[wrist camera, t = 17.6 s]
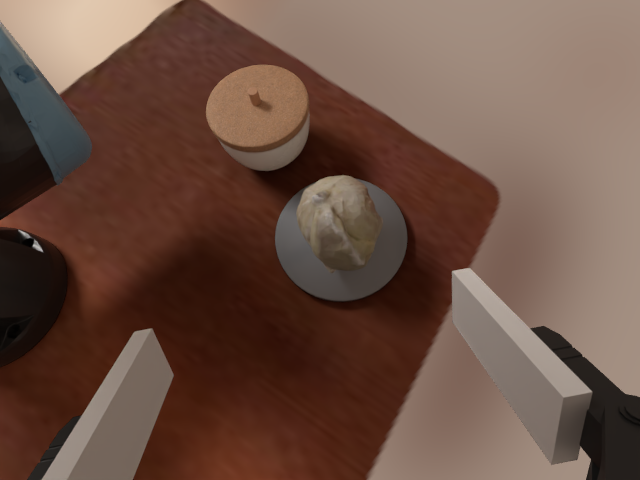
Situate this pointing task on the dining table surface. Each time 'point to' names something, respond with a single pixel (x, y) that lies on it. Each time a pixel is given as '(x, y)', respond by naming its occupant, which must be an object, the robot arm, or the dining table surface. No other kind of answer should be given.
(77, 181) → the dining table surface
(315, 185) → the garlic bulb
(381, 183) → the dining table surface
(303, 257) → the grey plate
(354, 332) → the dining table surface
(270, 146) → the lidded jar
